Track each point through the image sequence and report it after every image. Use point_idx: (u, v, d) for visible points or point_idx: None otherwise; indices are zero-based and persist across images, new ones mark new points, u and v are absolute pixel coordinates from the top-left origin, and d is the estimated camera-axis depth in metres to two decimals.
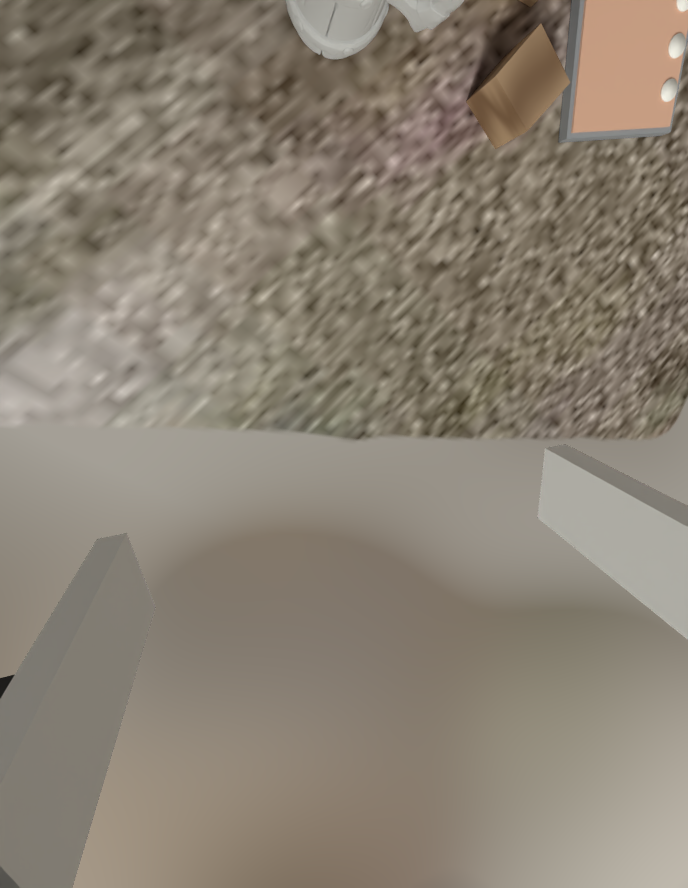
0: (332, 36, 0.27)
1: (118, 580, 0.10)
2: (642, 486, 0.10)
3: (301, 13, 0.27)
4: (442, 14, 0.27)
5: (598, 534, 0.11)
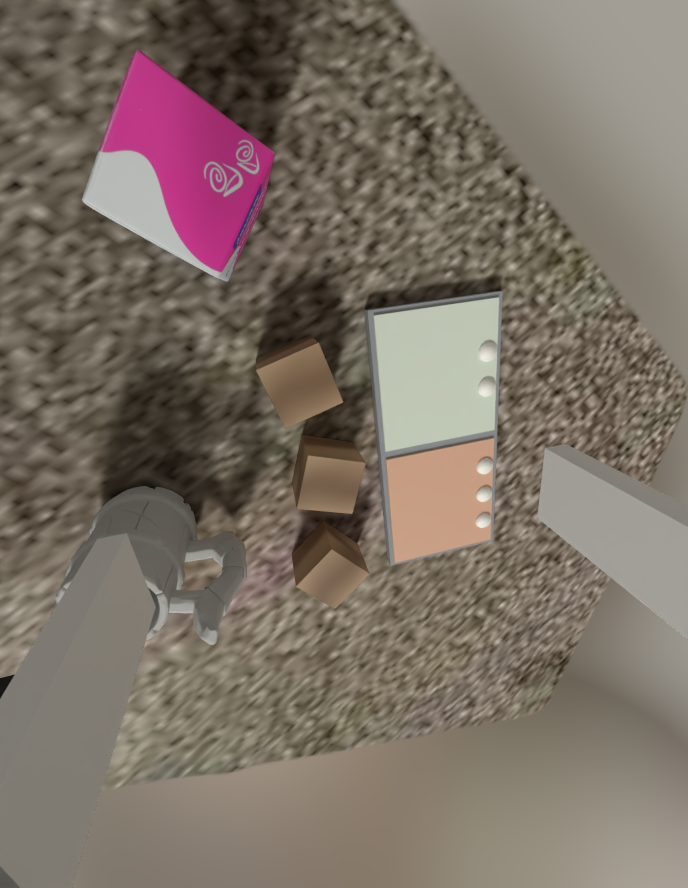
0: None
1: (117, 580, 0.10)
2: (642, 487, 0.10)
3: None
4: None
5: (598, 534, 0.11)
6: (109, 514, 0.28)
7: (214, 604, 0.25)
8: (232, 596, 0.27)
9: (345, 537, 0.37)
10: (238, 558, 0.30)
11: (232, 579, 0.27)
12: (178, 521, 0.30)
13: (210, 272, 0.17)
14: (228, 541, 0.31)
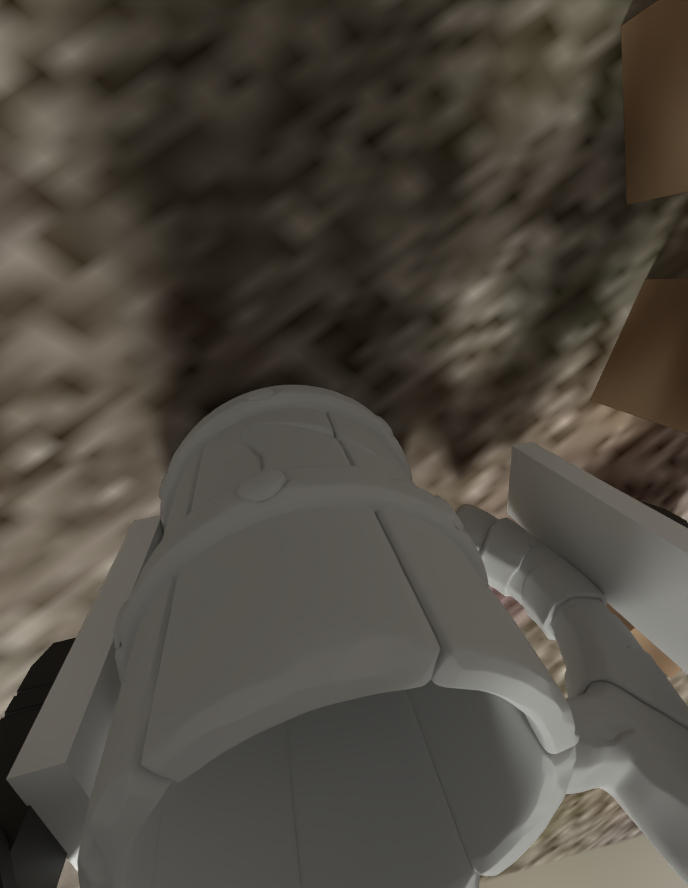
0: None
1: None
2: (598, 482, 0.11)
3: None
4: None
5: (558, 528, 0.12)
6: (234, 436, 0.09)
7: None
8: None
9: None
10: (569, 572, 0.11)
11: (633, 643, 0.09)
12: None
13: None
14: (504, 527, 0.12)
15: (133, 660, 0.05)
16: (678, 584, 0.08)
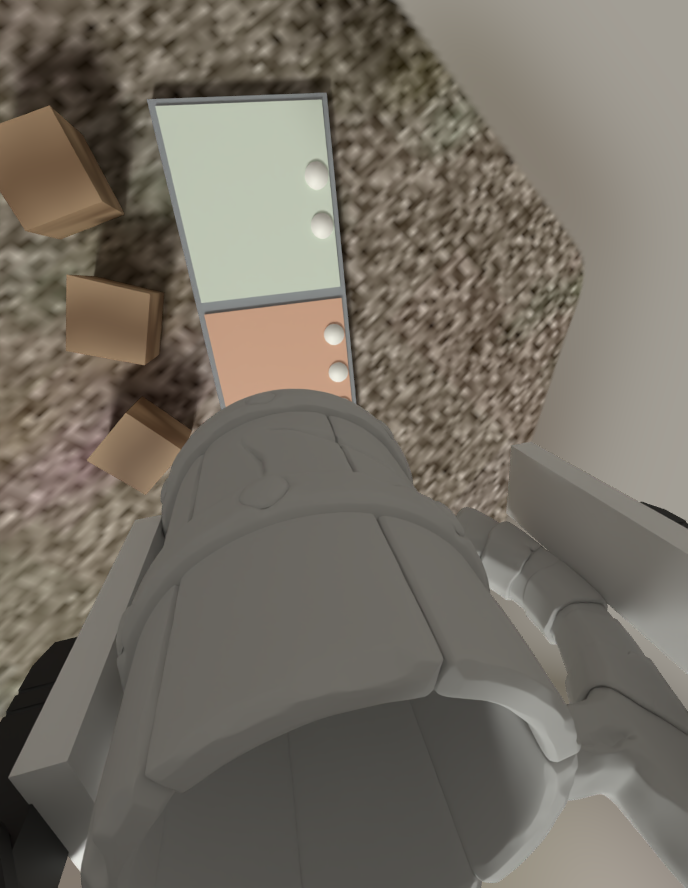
0: None
1: None
2: (597, 482, 0.11)
3: None
4: None
5: (557, 528, 0.12)
6: (235, 441, 0.09)
7: None
8: None
9: (172, 419, 0.31)
10: (569, 576, 0.11)
11: (634, 648, 0.09)
12: None
13: None
14: (504, 531, 0.12)
15: (136, 668, 0.05)
16: (677, 584, 0.08)
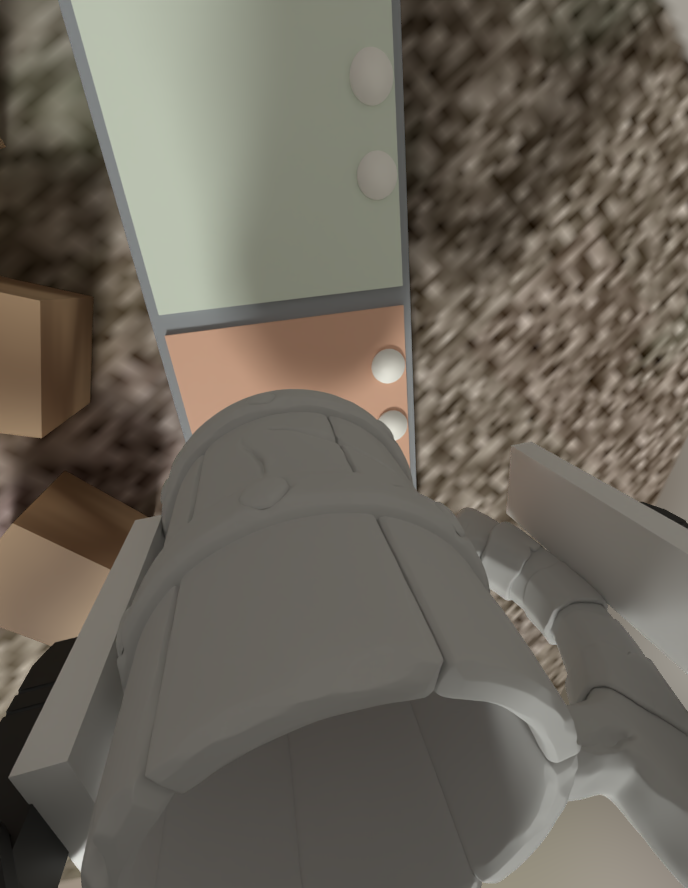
0: None
1: None
2: (597, 482, 0.11)
3: None
4: None
5: (557, 528, 0.12)
6: (235, 441, 0.09)
7: None
8: None
9: (118, 506, 0.19)
10: (570, 576, 0.11)
11: (634, 648, 0.09)
12: None
13: None
14: (504, 531, 0.12)
15: (136, 668, 0.05)
16: (677, 584, 0.08)
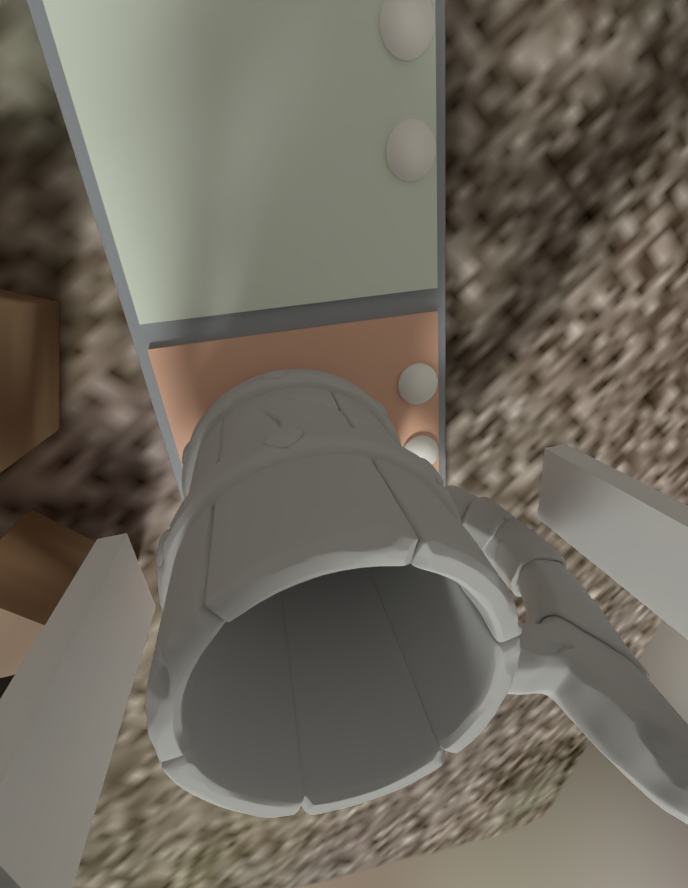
0: None
1: (118, 580, 0.10)
2: (642, 486, 0.10)
3: None
4: None
5: (597, 534, 0.11)
6: (253, 407, 0.11)
7: (630, 673, 0.08)
8: None
9: None
10: (535, 540, 0.12)
11: (582, 593, 0.10)
12: None
13: None
14: (482, 503, 0.14)
15: (182, 561, 0.07)
16: None
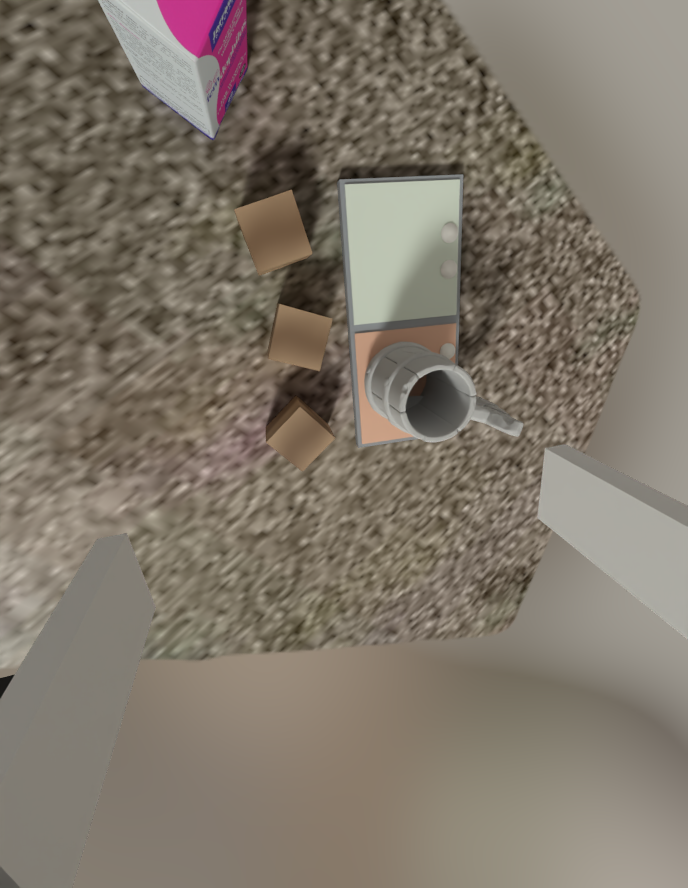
0: None
1: (118, 580, 0.10)
2: (642, 486, 0.10)
3: (376, 406, 0.37)
4: None
5: (598, 534, 0.11)
6: (399, 351, 0.35)
7: (505, 414, 0.32)
8: None
9: (316, 414, 0.40)
10: (489, 402, 0.36)
11: (499, 408, 0.34)
12: None
13: (188, 56, 0.20)
14: None
15: (400, 376, 0.31)
16: None
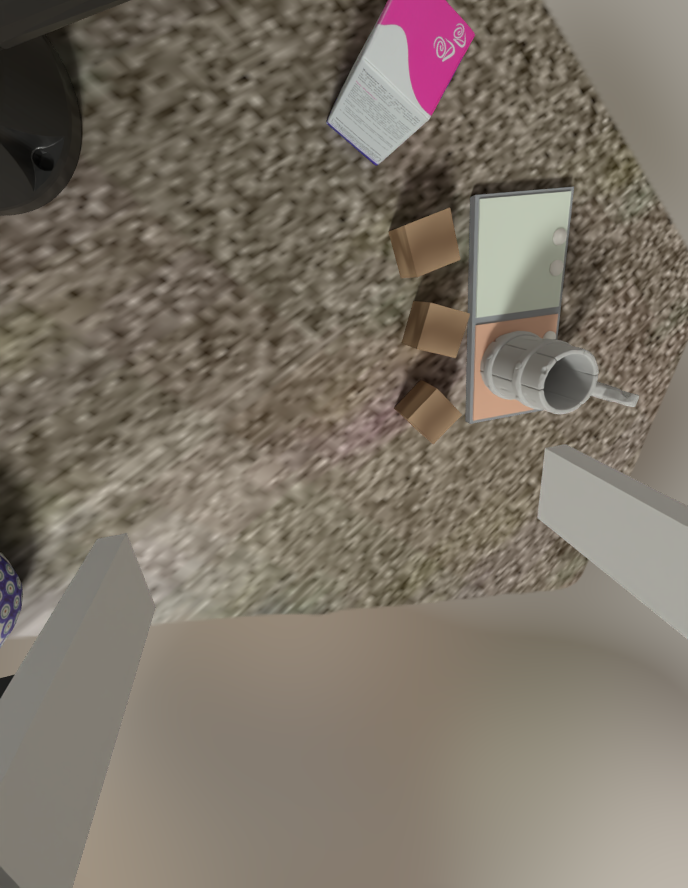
0: (511, 397, 0.44)
1: (118, 580, 0.10)
2: (642, 487, 0.10)
3: (494, 387, 0.44)
4: None
5: (597, 534, 0.11)
6: (520, 339, 0.41)
7: None
8: None
9: None
10: None
11: None
12: None
13: (425, 115, 0.26)
14: None
15: (535, 360, 0.37)
16: None
